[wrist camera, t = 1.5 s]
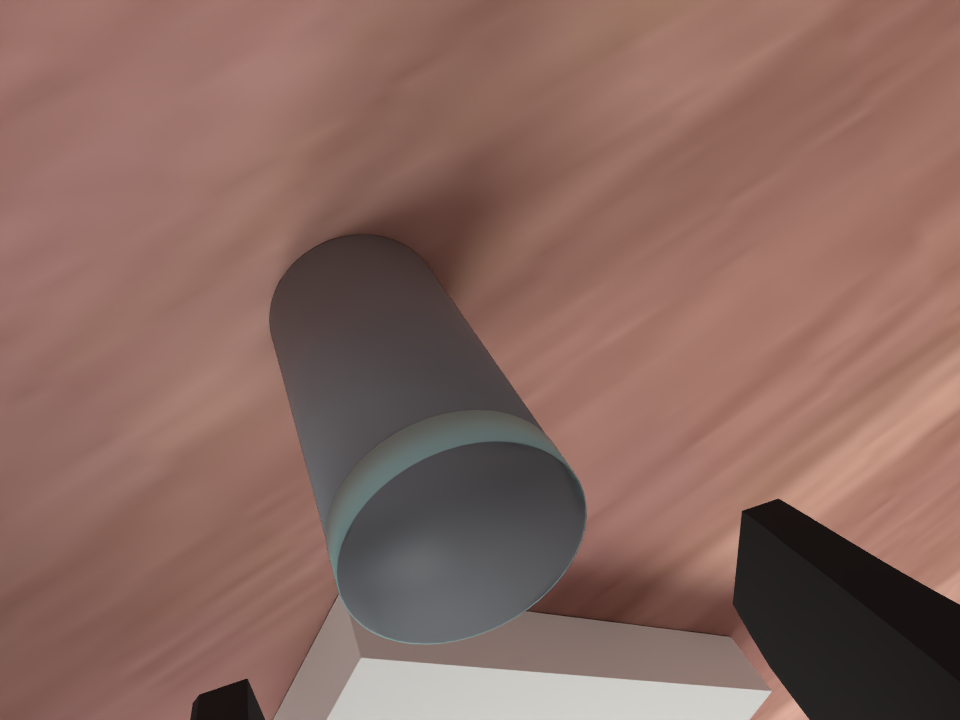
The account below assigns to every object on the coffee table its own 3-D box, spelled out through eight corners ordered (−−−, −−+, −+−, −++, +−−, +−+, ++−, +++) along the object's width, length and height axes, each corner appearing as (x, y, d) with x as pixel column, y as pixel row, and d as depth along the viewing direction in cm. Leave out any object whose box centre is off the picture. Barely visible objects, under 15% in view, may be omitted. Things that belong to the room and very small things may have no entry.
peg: (242, 366, 19) (293, 633, 12) (309, 207, 17) (405, 413, 11) (398, 406, 21) (513, 653, 14) (469, 266, 19) (630, 469, 13)
